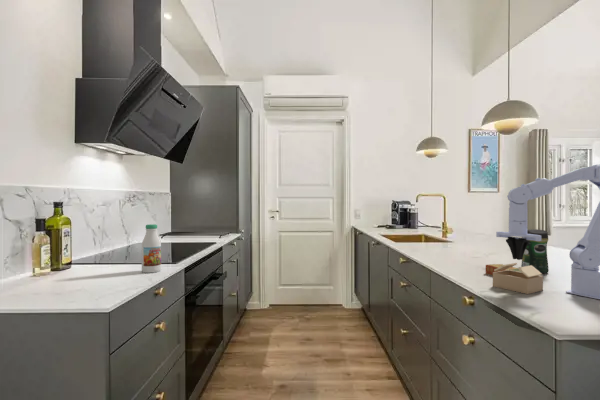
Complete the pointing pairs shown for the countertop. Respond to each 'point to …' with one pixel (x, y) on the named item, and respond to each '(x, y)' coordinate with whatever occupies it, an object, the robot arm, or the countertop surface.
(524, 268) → the flap
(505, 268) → the far flap
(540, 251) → the coffee jar
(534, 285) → the brown carton
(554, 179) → the robot arm
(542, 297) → the countertop surface
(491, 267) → the carton
